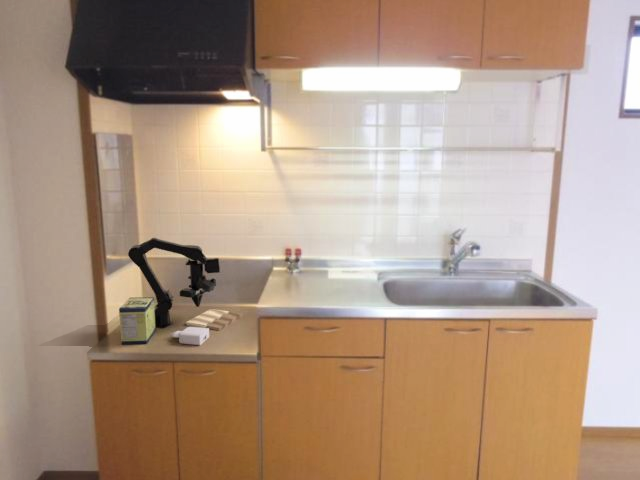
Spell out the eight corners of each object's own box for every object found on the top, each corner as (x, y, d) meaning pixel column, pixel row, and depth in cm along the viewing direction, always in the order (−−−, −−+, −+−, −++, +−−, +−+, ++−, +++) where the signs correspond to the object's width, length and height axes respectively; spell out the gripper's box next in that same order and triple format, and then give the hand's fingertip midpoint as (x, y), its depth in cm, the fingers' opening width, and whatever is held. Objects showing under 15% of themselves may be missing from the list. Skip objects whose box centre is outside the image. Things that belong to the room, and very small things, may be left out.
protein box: (156, 330, 206) (154, 296, 203) (147, 344, 191) (145, 308, 188) (131, 330, 204) (129, 297, 202) (120, 345, 189) (118, 308, 186)
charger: (177, 334, 201) (209, 337, 199) (166, 343, 192) (200, 346, 190) (176, 324, 200) (209, 327, 198) (165, 332, 192) (199, 335, 189)
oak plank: (204, 328, 208) (204, 325, 208) (186, 325, 212) (186, 322, 211) (228, 314, 227) (228, 311, 226) (211, 311, 230) (210, 308, 230)
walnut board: (219, 331, 206) (219, 327, 205) (206, 328, 208) (206, 325, 208) (242, 316, 224) (242, 313, 224) (229, 314, 226) (229, 311, 226)
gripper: (199, 280, 200) (200, 315, 203) (223, 270, 217) (223, 302, 220) (178, 278, 203) (179, 312, 206) (202, 268, 221) (203, 300, 224)
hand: (197, 306), depth 214 cm, fingers closed
